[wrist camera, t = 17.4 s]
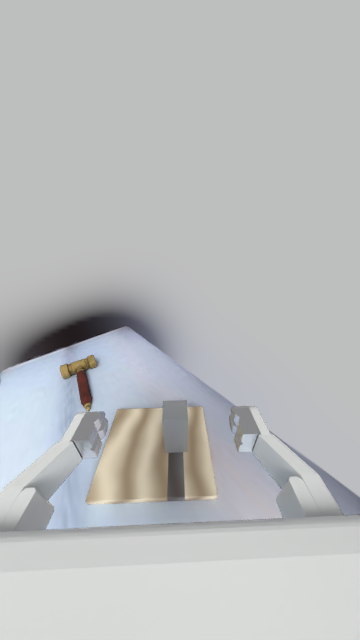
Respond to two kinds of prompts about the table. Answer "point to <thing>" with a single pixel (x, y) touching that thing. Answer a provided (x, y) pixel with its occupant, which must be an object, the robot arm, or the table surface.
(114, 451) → the board
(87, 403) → the gavel
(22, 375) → the table surface
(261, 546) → the robot arm
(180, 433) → the tall grey pillar
